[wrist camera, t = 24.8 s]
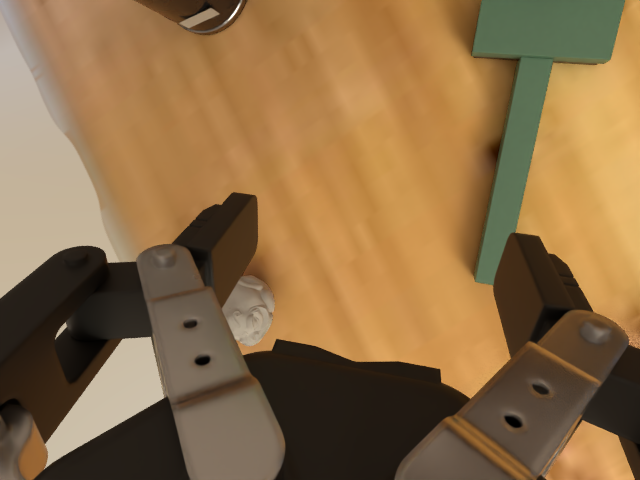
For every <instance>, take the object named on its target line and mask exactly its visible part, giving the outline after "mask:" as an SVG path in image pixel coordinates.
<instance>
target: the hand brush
mask: <svg viewBox="0 0 640 480" xmlns="http://www.w3.org/2000/svg"><path fill="white" fill-rule="evenodd" d="M624 3H625V0H481V5H480V10H479V16H478V21H477V27H476V32H475V38H474V43H473V49H472V54H471V56H473V57H474V58H490V59H506V60H519V61H518V62H517V65H516V70H515V75H514V80H513V85H512V90H511V95H510V100H509V105H508V110H507V114H506V119H505V124H504V129H503V134H502V139H501V144H500V149H499V154H498V159H497V164H496V168H495V173H494V178H493V183H492V188H491V193H490V198H489V203H488V208H487V213H486V218H485V222H484V227H483V232H482V237H481V242H480V247H479V252H478V257H477V262H476V267H475V272H474V279H475V282H479V283H485V284H490V285H494V278H495V274H496V271H497V268H498V265H499V262H500V259H501V256H502V254H503V251H504V248H505V245H506V242H507V239H508V237H509V235H510V234H511V233H512V232H514V233H515V232H516V227H517V222H518V218H519V213H520V209H521V204H522V200H523V195H524V191H525V186H526V182H527V177H528V172H529V168H530V163H531V159H532V154H533V150H534V145H535V141H536V136H537V132H538V127H539V123H540V118H541V113H542V109H543V104H544V100H545V95H546V91H547V86H548V82H549V77H550V73H551V68H552V63H553V62H555V63H572V64H588V65H597V64H604V63H606V62H608V61H609V60H610V59H611V56H612V52H613V48H614V43H615V39H616V35H617V31H618V27H619V23H620V19H621V15H622V11H623V7H624Z"/></svg>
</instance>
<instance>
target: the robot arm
mask: <svg viewBox="0 0 640 480" xmlns="http://www.w3.org/2000/svg"><path fill="white" fill-rule="evenodd" d="M134 1H136V2H138V3H140V4H142V5H144V6H146V7H147V8H149V9H151V10H153V11H155V12H157V13H159V14H161V15H163V16H164V17H166V18H168V19H170V20H172V21H174V22H176V23H177V24H179V25H180V26H181V27H183V28H184V29H186V30H188V31H190V32H193V33H195V34H200V35H211V34H215V33H218V32H221V31H222V30H224V29H226V28H227V27H229V26H230V25H231V24H232V23H233V22H234V21H235V20H236V19H237V18H238V16H239V15H240V13H241V11H242V10H243V8H244V5H245V3H246V0H134ZM257 242H258V206H257V197H256V196H255V195H250V194H243V193H236V192H233V193H231V195H230V196H229V197H228V198H227V199H226V200H225V201H224V202H223V204H222V205H217V204H215V205H213V206H211V207H209V208H207V209H205V210H203V211H202V212H201V213H200V214H199V215H198V216H197V217H196V220H193V222H192V223H191V224H190V226H188V227H187V228H186V229H185V230H184V231H183V232H182V233H181V234H180V235H179V236H178V237H177V238H176V240H175V241H174V242H173V243H172V244H163V245H157V246H154V247H151V248H148V249H146V250H145V251H143V252H142V253H141V254H140V255H139V256H138V257H137V260H136V261H137V262H118V263H107V258H106V254H105V252H104V251H103V250H102V249H100V248H98V247H93V246H78V247H72V248H69V249H65V250H63V251H60V252H58V253H57V254H55V255H53V256H52V257H51V258H49V259H48V260H47V261H46V262H44V263H43V264H42V265H41V266H40V267H38V268H37V269H36V270H35V271H33V272H32V273H31V274H30V275H29V276H27V277H26V278H25V279H24V280H23V281H21V282H20V283H19V284H18V285H16V286H15V287H14V288H13V289H12V290H10V291H9V292H8V293H7V294H6V295H4V296H3V297H2V298H1V299H0V480H546V479H545V477H546V475H547V474H548V472H549V471H550V469H551V468H552V466H553V465H554V463H555V461H556V460H557V458H558V457H559V455H560V454H561V452H562V451H563V449H564V448H565V446H566V445H567V443H568V442H569V440H570V439H571V437H572V436H573V434H574V433H575V431H576V430H577V428H578V427H579V425H580V424H581V422H582V420H584V421H586V422H589V423H591V424H593V425H595V426H598V427H600V428H602V429H605V430H607V431H609V432H612V433H614V434H616V435H618V436H619V440H620V442H621V445H622V447H623V450H624V452H625V455H626V457H627V460H628V463H629V465H630V468H631V470H632V473H633V475H634V478H635V480H640V349H638V348H635V347H633V346H631V345H628V344H629V339H628V336H627V334H626V333H625V332H624V330H623V329H622V328H621V327H620V326H618V325H617V324H616V323H615V322H613V321H612V320H610V319H608V318H606V317H604V316H602V315H600V314H597V313H594V312H593V310H592V308H591V306H590V305H589V303H588V301H587V299H586V297H585V296H584V294H583V292H582V290H581V288H579V287H578V286H579V285H578V283H577V281H576V280H575V278H573V277H574V276H573V274H572V272H571V271H570V269H569V267H568V265H567V264H565V263H564V262H563V261H562V260H561V259H559V258H558V257H557V256H556V255H555V254H548V253H547V251H546V249H545V247H544V245H543V243H542V241H541V239H540V237H539V236H535V235H528V234H521V233H514V232H512V233H511V234H510V235H509V237H508V239H507V242H506V245H505V248H504V251H503V254H502V256H501V259H500V262H499V265H498V268H497V271H496V274H495V278H494V285H493V291H494V297H495V300H496V304H497V308H498V312H499V315H500V319H501V323H502V327H503V330H504V334H505V338H506V342H507V345H508V349H509V353H510V357H511V359H510V360H509V361H508V362H507V363H506V364H505V365H504V366H503V367H502V368H501V369H500V370H499V371H498V372H497V373H496V374H495V375H494V376H493V377H492V378H491V379H490V380H489V381H488V382H487V383H486V384H485V385H484V386H483V387H482V388H481V389H480V390H479V391H478V392H477V393H476V394H475V395H474V396H473V397H472V398H471V399H470V398H468V397H467V396H466V395H464V394H462V393H461V392H459V391H458V390H456V389H454V388H452V387H450V386H448V385H446V384H444V383H441V373H440V369H436V368H431V367H426V366H420V365H415V364H409V363H404V362H355V361H351V360H349V359H346V358H344V357H341V356H339V355H336V354H334V353H331V352H329V351H326V350H324V349H321V348H319V347H316V346H312V345H306V344H301V343H296V342H290V341H285V340H279V339H276V341H275V344H274V347H273V349H272V351H260V352H254V353H250V354H246V355H243V356H242V353H241V351H240V349H239V347H238V344H237V342H236V340H235V338H234V335H233V333H232V331H231V329H230V326H229V324H228V322H227V320H226V318H225V315H224V313H223V311H222V308H223V306H224V304H225V303H226V301H227V299H228V298H229V296H230V294H231V293H232V291H233V289H234V288H235V286H236V284H237V283H238V281H239V279H240V278H241V276H242V274H243V273H244V271H245V269H246V267H247V266H248V264H249V262H250V261H251V259H252V257H253V256H254V254H255V251H256V248H257ZM65 322H66V324H67V328H66V329H65V330H64V331H63V332H62V333H61V334H60V335H59V336H58V337H57V338H56V339H55V337H56V334H57V332H58V330H59V329H60V327H61V326H62V325H63V324H64V323H65ZM138 337H139V338H140V337H151V340H152V345H153V349H154V353H155V358H156V362H157V366H158V371H159V376H160V380H161V384H162V389H163V394H164V399H162V400H160V401H158V402H157V403H155V404H153V405H151V406H150V407H148V408H146V409H144V410H143V411H141V412H139V413H137V414H136V415H134V416H132V417H131V418H129V419H127V420H125V421H124V422H122V423H120V424H118V425H117V426H115V427H113V428H111V429H110V430H108V431H106V432H104V433H103V434H101V435H100V436H97V437H96V438H94V439H92V440H90V441H89V442H87V443H85V444H84V445H82V446H80V447H78V448H76V449H75V450H73V451H71V452H69V453H68V454H66V455H64V456H63V457H61V458H60V459H58V460H56V461H55V462H53V463H52V464H51V465H49V466H48V467H47V468H45V466H46V463H47V458H48V451H47V448H46V446H45V443H46V442H47V441H48V439H49V438H50V437H51V435H52V434H53V433H54V431H55V430H56V429H57V427H58V426H59V424H60V423H61V422H62V420H63V419H64V418H65V416H66V415H67V414H68V412H69V411H70V410H71V408H72V407H73V405H74V404H75V403H76V401H77V400H78V398H79V397H80V396H81V395H82V393H83V392H84V391H85V389H86V388H87V386H88V385H89V384H90V382H91V381H92V380H93V378H94V377H95V375H96V374H97V373H98V372H99V370H100V369H101V367H102V366H103V365H104V363H105V362H106V360H107V359H108V358H109V357H110V355H111V354H112V353H113V351H114V350H115V348H116V347H117V346H118V344H119V343H120V341H121V340H122V339H125V338H138ZM44 468H45V469H44Z"/></svg>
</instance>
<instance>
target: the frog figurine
mask: <svg viewBox="0 0 640 480" xmlns="http://www.w3.org/2000/svg"><path fill="white" fill-rule="evenodd" d="M273 298H274V296H273V294H272V291H271V289H270V288H269V286H268V285H267V284H266V283H265V282H264V281H262V280H260V279H258V278H256V277H255V276H253V275H247V276H242V277H241V278H240V279H239V281H238V283H237V284H236V286H235V288H234V289H233V291H232V293H231V294H230V296H229V298H228V299H227V301H226V303H225V304H224V306H223V308H222V311H223V313H224V315H225V318H226V320H227V322H228V324H229V326H230V329H231V331H232V333H233V335H234V338H235V340H238V341H239V342H240V343H242V344H244V345H246V346H253V345H255V344H257V343H258V342H259V341H260V340H261V339H262V338H263V336H264V335H265V333H266V332H267V330H268V329H269V327H270V325H271V323H272V320H273V319H272V318H273V314H272V312H273V311H274V309H275V303H274V302H275V300H274V299H273Z"/></svg>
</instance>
